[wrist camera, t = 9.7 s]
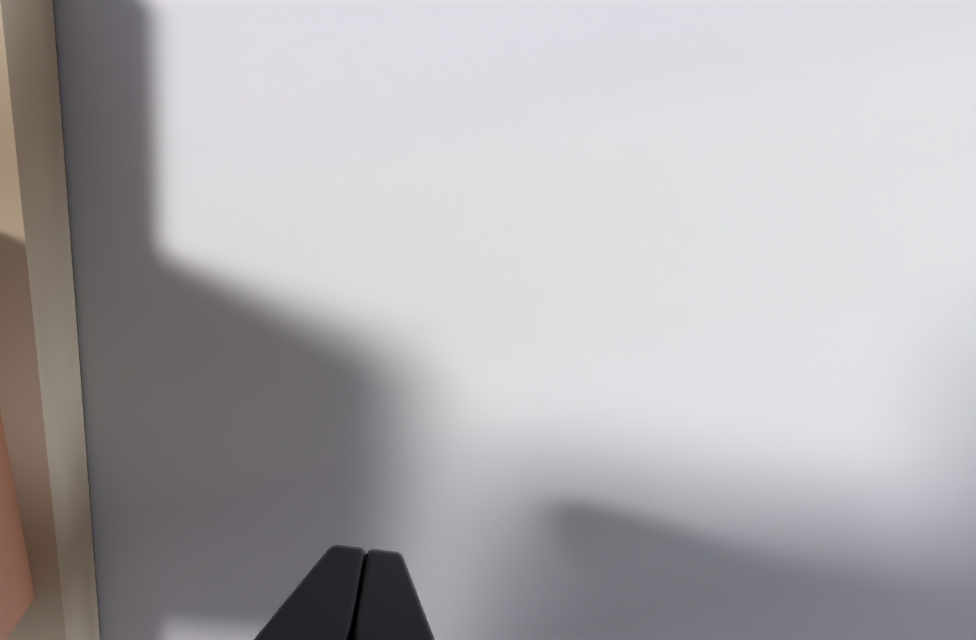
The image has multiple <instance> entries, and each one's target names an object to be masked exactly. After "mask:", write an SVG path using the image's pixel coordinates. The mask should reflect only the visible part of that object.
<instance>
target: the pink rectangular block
mask: <svg viewBox="0 0 976 640" xmlns="http://www.w3.org/2000/svg"><path fill="white" fill-rule="evenodd" d="M34 597H35V595H34V589H33V584H32V578H31V573H30V568H29V562H28V557H27V551H26V546H25V541H24V535H23V530H22V524H21V519H20V514H19V508H18V503H17V497H16V492H15V487H14V481H13V476H12V470H11V465H10V460H9V454H8V449H7V443H6V438H5V433H4V427H3V422H2V416H1V411H0V640H5V639H6V637H7V636H8V635H9V633H10V632H11V630H12V629H13V627H14V626H15V625H16V623H17V622H18V620H19V619H20V617H21V616H22V614H23V613H24V612H25V610H26V609H27V607H28V606H29V604H30V603H31V602H32V600H33V599H34Z"/></svg>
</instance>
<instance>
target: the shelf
mask: <svg viewBox="0 0 976 640" xmlns="http://www.w3.org/2000/svg"><path fill="white" fill-rule="evenodd" d="M0 411H1V416H2V422H3V427H4V433H5V438H6V443H7V449H8V454H9V460H10V465H11V470H12V476H13V481H14V487H15V492H16V497H17V503H18V508H19V514H20V519H21V524H22V530H23V535H24V541H25V546H26V551H27V557H28V562H29V568H30V573H31V578H32V584H33V589H34V595H35V597H34V599H33V600H32V602H31V603H30V604H29V606H28V607H27V609H26V610H25V612H24V613H23V614H22V616H21V617H20V619H19V620H18V622H17V623H16V625H15V626H14V627H13V629H12V630H11V632H10V633H9V635H8V636H7V637H6V639H5V640H100V632H99V618H98V605H97V591H96V578H95V564H94V551H93V537H92V524H91V510H90V497H89V483H88V470H87V456H86V443H85V429H84V416H83V402H82V389H81V375H80V362H79V348H78V335H77V322H76V308H75V295H74V281H73V268H72V254H71V241H70V227H69V214H68V200H67V187H66V173H65V160H64V146H63V133H62V119H61V106H60V92H59V79H58V65H57V52H56V38H55V25H54V11H53V0H0Z"/></svg>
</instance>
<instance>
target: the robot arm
mask: <svg viewBox="0 0 976 640" xmlns="http://www.w3.org/2000/svg"><path fill="white" fill-rule="evenodd" d="M365 558H366V559H365ZM254 640H435V639H434V637H433V634H432V632H431V629H430V626H429V624H428V621H427V618H426V616H425V613H424V611H423V608H422V605H421V603H420V600H419V597H418V595H417V592H416V590H415V587H414V584H413V582H412V579H411V576H410V574H409V571H408V568H407V566H406V563H405V561H404V558H403V556H402V555H401V554H400V553H399V552H393V551H384V550H376V549H371V550H369V551H368V552H367V554H366V552H365V550H364V549H363V548H359V547H350V546H341V545H334V546H332V547H330V548H329V549H328V550H327V552H326V553H325V554H324V555H323V556H322V558H321V559H320V560H319V561H318V562H317V564H316V565H315V566H314V567H313V568H312V570H311V571H310V572H309V573H308V575H307V576H306V577H305V578H304V579H303V581H302V582H301V583H300V584H299V585H298V587H297V588H296V589H295V590H294V591H293V593H292V594H291V595H290V596H289V598H288V599H287V600H286V601H285V602H284V604H283V605H282V606H281V607H280V608H279V610H278V611H277V612H276V613H275V615H274V616H273V617H272V618H271V619H270V621H269V622H268V623H267V624H266V625H265V627H264V628H263V629H262V630H261V631H260V633H259V634H258V635H257V636H256V638H255V639H254Z"/></svg>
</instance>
